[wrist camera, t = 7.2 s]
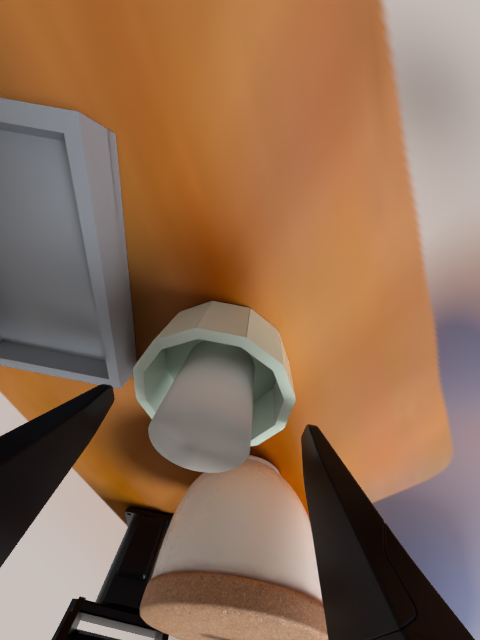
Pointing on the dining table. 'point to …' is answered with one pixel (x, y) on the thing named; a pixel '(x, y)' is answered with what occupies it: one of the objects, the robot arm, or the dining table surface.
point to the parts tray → (62, 248)
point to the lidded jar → (237, 562)
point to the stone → (207, 410)
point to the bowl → (226, 328)
